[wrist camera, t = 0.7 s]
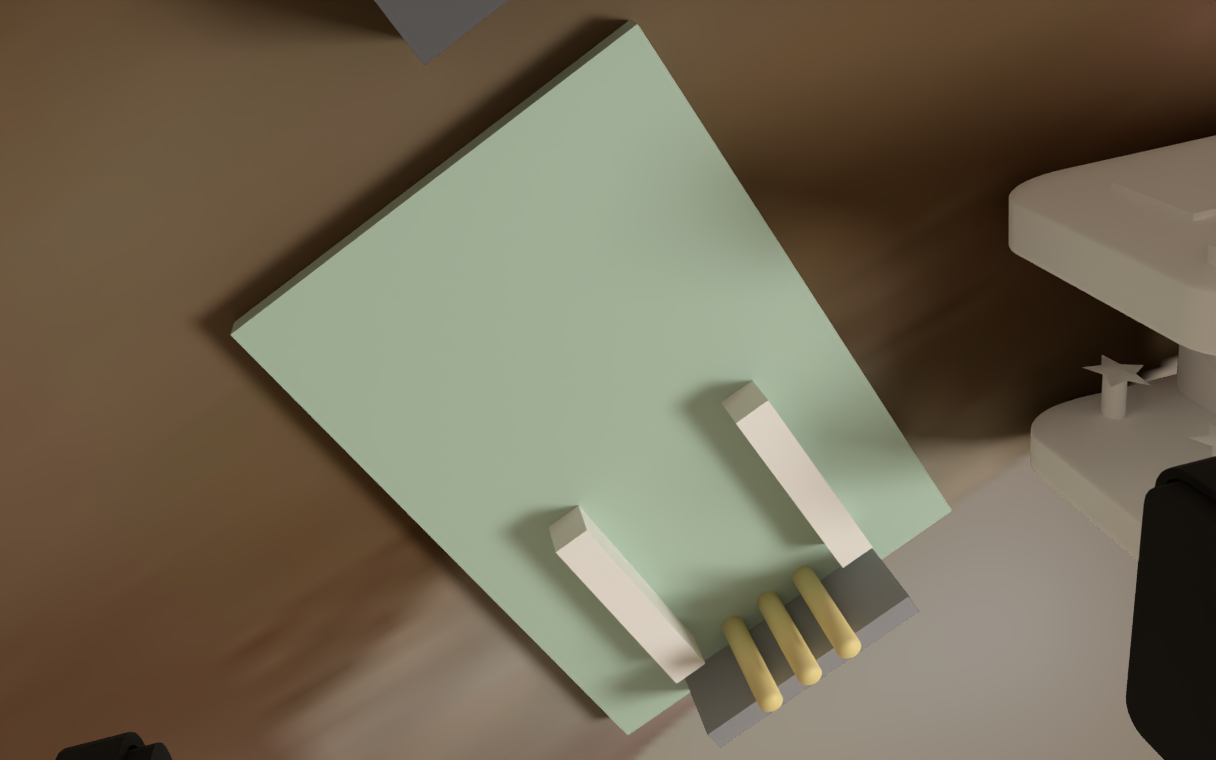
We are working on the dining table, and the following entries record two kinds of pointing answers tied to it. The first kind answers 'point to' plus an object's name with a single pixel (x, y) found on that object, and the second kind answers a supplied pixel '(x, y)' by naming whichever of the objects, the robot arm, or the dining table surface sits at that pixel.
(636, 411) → the board
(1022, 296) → the dining table surface
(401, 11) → the plug
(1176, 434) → the cable organizer
